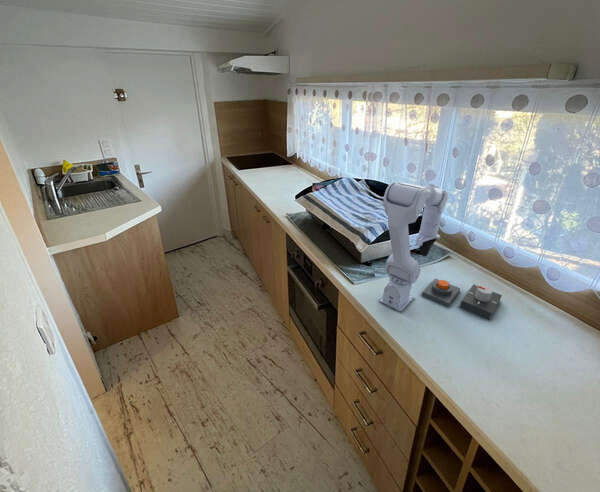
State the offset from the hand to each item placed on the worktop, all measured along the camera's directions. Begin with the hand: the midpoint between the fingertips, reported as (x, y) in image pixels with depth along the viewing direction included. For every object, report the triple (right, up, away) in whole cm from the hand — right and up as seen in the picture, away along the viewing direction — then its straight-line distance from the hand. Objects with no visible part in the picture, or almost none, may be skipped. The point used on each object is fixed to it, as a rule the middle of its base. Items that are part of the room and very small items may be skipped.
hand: (423, 254), depth 113 cm
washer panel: (+15, -16, -9) cm, 24 cm away
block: (+5, -14, -4) cm, 15 cm away
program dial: (+15, -14, -10) cm, 23 cm away
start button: (+5, -11, -5) cm, 13 cm away
